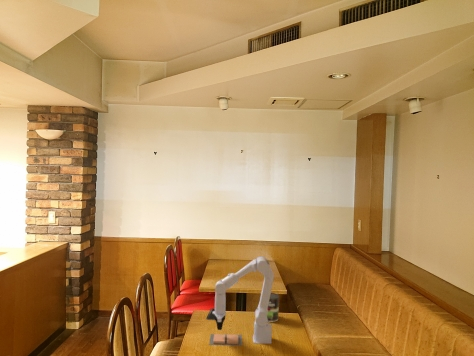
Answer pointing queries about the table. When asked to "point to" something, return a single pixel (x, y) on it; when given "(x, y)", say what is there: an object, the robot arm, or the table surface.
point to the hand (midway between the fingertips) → (219, 329)
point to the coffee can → (273, 308)
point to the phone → (211, 315)
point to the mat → (225, 340)
